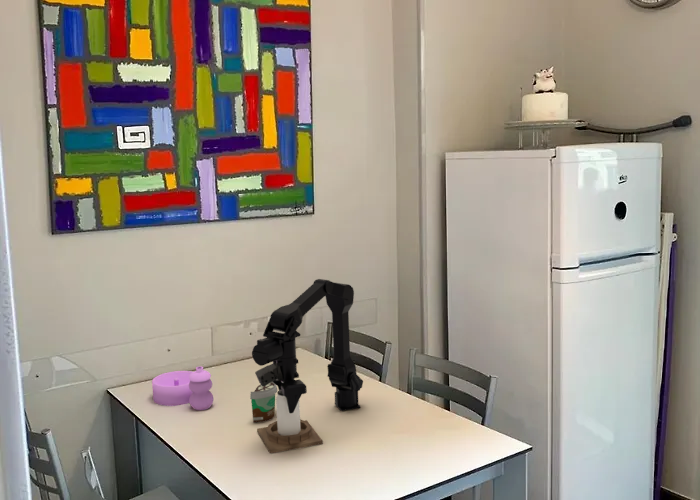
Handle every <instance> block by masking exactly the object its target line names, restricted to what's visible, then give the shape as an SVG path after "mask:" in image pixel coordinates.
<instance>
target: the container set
mask: <svg viewBox="0 0 700 500" xmlns="http://www.w3.org/2000/svg"><path fill="white" fill-rule="evenodd" d="M211 376H212V375H211V373H210V371H208V370H205V369H204V367H203V366H196V367H195V371H192V370H191V371H190V370H175V371H168V372H163V373H161V374H159V375H157V376H155V377H153V379H152V380H151V384H152V388H151V389H152V398H153V399H152V400H153V402H154V403H155V404H157V405H161V406H166V407H169V406H170V407H172V406H174V407H175V406H181V405H187V404H190V405H189V406H191V407H192V408H193V409H194V410H196V411H204V410H208V409H209V408H210V407H211V406H212V405H213V403H214V394H213V393H212V391H210V390H211V389H212V387H213V382H212V379H211Z"/></svg>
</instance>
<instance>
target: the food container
mask: <svg viewBox="0 0 700 500" xmlns="http://www.w3.org/2000/svg"><path fill="white" fill-rule="evenodd" d="M277 392H278V386H277V385H276V384H275V383H273V382H271V383H269V384H267V385H266V386H261V384H260V383H259V385H258V386H257V387H255V389H254V391H250V393H249V394H250V396H249V397H250V400H251V403H250V404H251V413H252V421H253V423H256V424H257V423H264V422H268V421H271V420H273V418H275V416H276V415H275V414H276V413H275V412H276V393H277Z"/></svg>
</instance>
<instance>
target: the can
mask: <svg viewBox="0 0 700 500" xmlns="http://www.w3.org/2000/svg"><path fill="white" fill-rule="evenodd" d="M280 391H281V390H279V389H278V390H277V392H276V393H277V395H276V396H275V409H276V421H277V427H278V433H279V434H280V435H288V436H289V435H295V434H299V432H300V431H301V427H300V419H301V409H300V407H301V406H300V400H299V401H298V403H297V406H296V408H295V410H294V412H293V413H289V409H288V405H287V400H286V397H285V396H283V395H282V393H281V392H280Z"/></svg>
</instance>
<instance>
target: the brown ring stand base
mask: <svg viewBox="0 0 700 500" xmlns="http://www.w3.org/2000/svg"><path fill="white" fill-rule="evenodd" d="M300 427H301V431H300V432H299V434H295V435H289V436H288V435H280V434H279V433H278V427H277V420H275V421H273V422H271V423H269V424H268V425H267V426H264V427H259V428H257V429H256V432H257V434H258V436H259V437H260V439H261V441H262V443H263V445H264V446H265V448H266V450H267V452H268V453H269V454H275V453H281V452H285V451H291V450H296V449H302V448H307V447H312V446H313V447H314V446H319V445H323V442H324V441H323V439H322V438H321V437H320V435H319V434H318V433H317V431H316V430H315V429H314V428H313V426H312V425H311V423H309V421H308V420H307V419H306V420H303V419H302V418H300Z"/></svg>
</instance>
